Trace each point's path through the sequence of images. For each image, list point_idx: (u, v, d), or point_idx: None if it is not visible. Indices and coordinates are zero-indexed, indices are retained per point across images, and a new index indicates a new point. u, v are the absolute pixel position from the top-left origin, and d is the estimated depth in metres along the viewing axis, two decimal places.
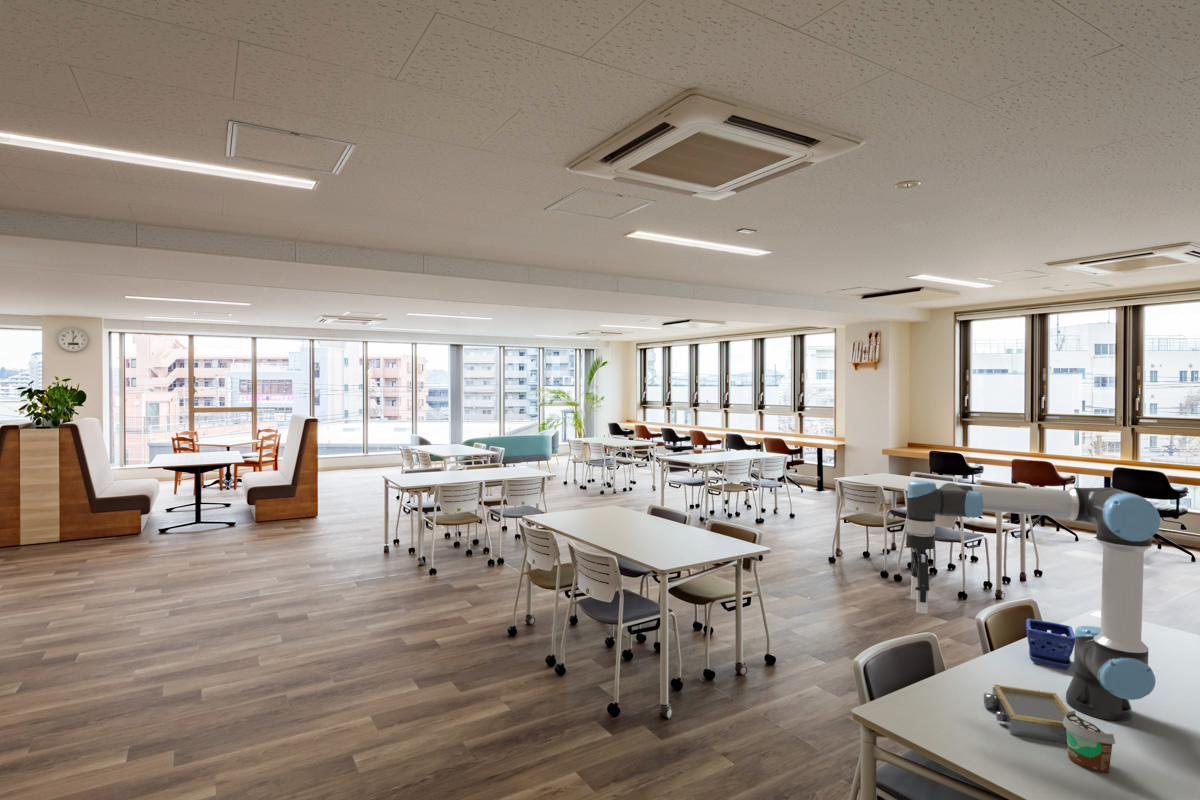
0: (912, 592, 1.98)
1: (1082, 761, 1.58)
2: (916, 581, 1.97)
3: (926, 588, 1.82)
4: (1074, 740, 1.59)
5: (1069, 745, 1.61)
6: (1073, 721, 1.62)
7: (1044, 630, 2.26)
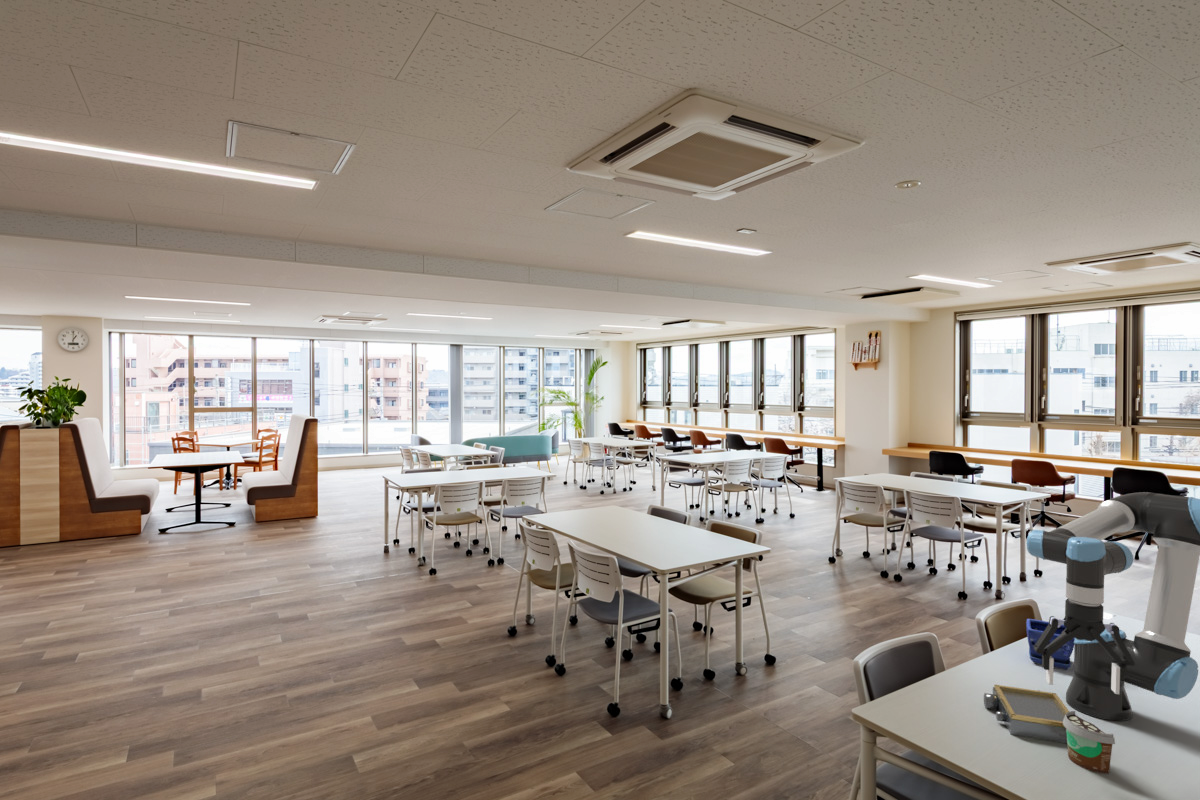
0: (1111, 682, 1.59)
1: (1082, 761, 1.58)
2: (1114, 669, 1.58)
3: (1035, 649, 1.63)
4: (1074, 741, 1.59)
5: (1069, 745, 1.61)
6: (1073, 721, 1.62)
7: None
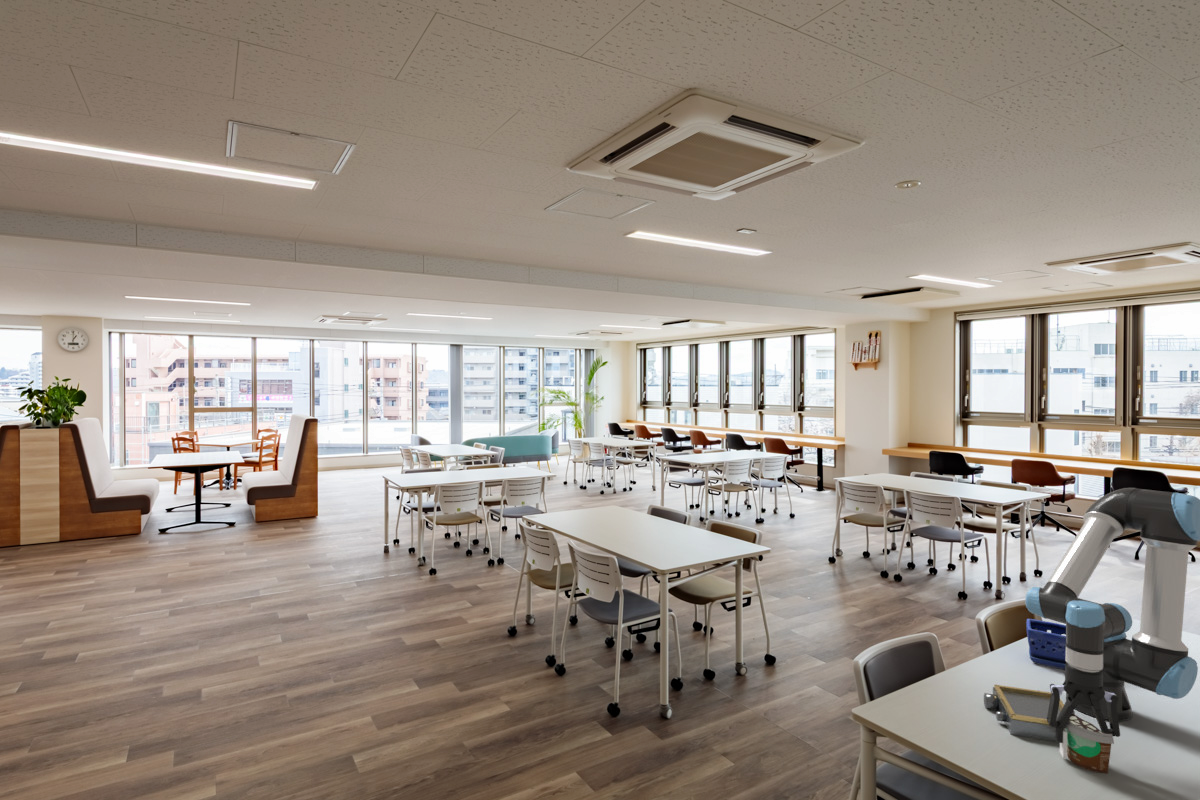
0: None
1: (1081, 761, 1.58)
2: None
3: (1049, 722, 1.62)
4: (1073, 740, 1.59)
5: (1068, 745, 1.61)
6: (1072, 721, 1.62)
7: (1044, 630, 2.26)
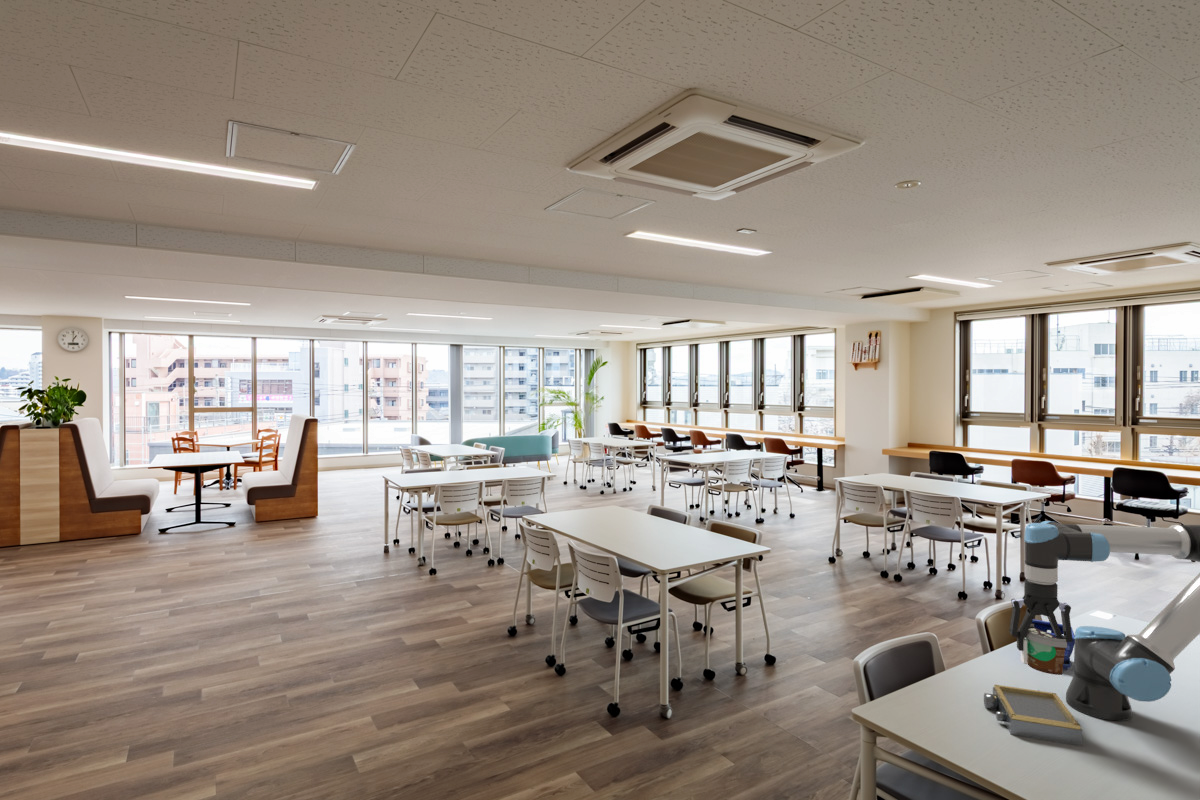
0: None
1: (1039, 665, 1.76)
2: None
3: (1011, 632, 1.80)
4: (1032, 647, 1.77)
5: (1028, 652, 1.79)
6: (1031, 631, 1.80)
7: (1044, 630, 2.26)
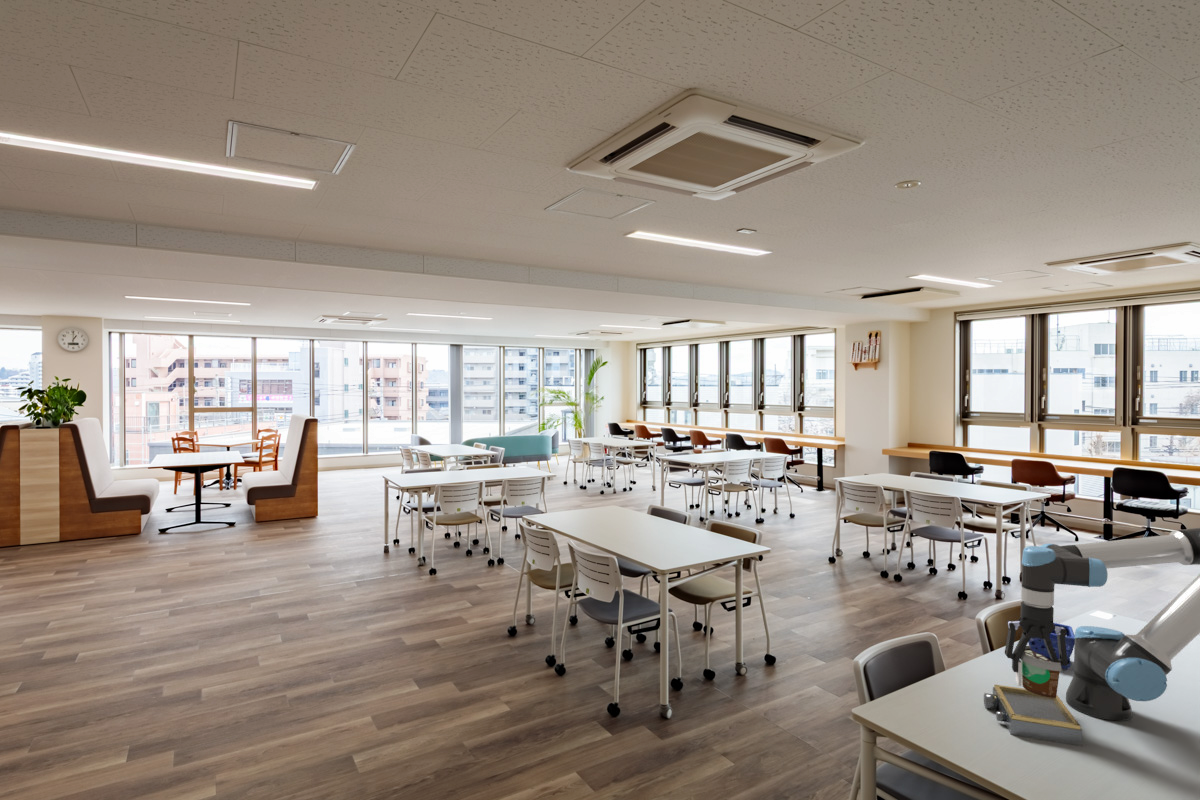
0: None
1: (1033, 687, 1.77)
2: None
3: (1006, 654, 1.81)
4: (1027, 669, 1.79)
5: (1023, 674, 1.81)
6: (1027, 653, 1.82)
7: None
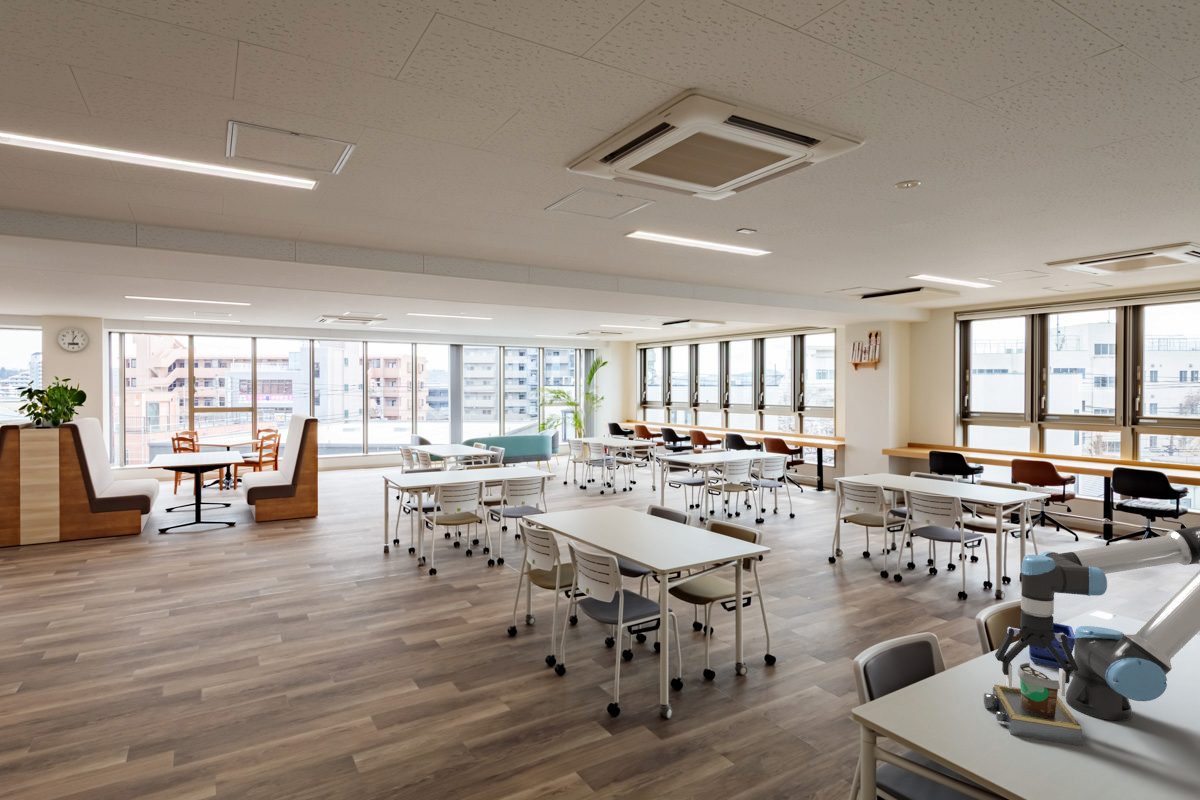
0: None
1: (1031, 705, 1.78)
2: (1060, 674, 1.78)
3: (996, 657, 1.82)
4: (1025, 687, 1.79)
5: (1021, 692, 1.81)
6: (1026, 671, 1.82)
7: None
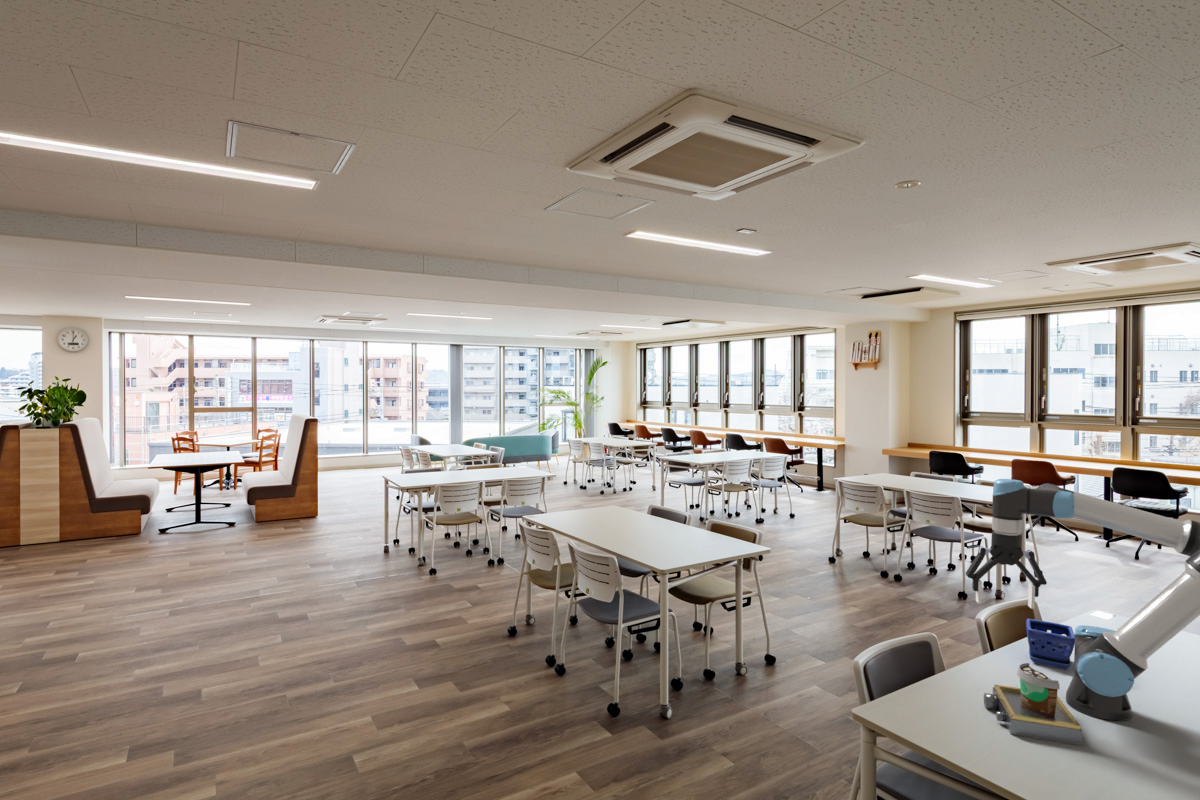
0: (1028, 599, 1.89)
1: (1031, 705, 1.78)
2: (1030, 589, 1.88)
3: (967, 574, 1.92)
4: (1025, 687, 1.79)
5: (1021, 692, 1.81)
6: (1025, 671, 1.82)
7: (1044, 630, 2.26)
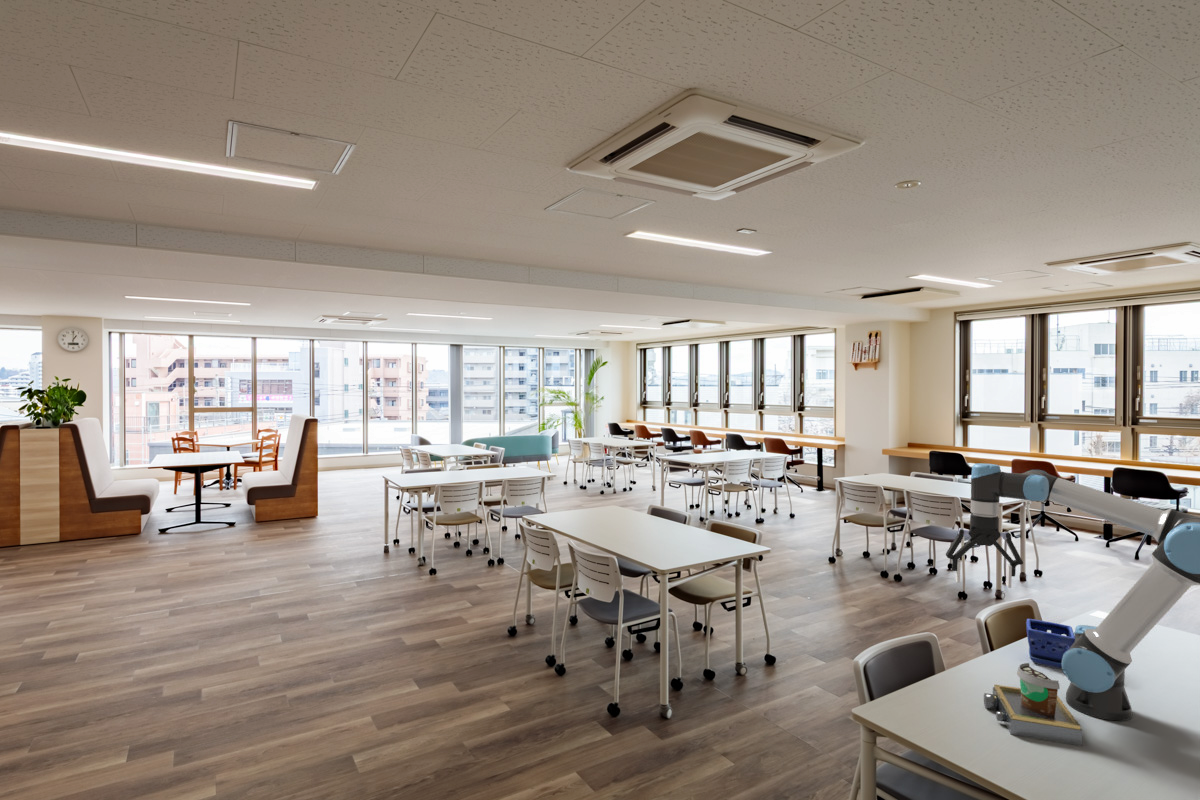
0: (1006, 579, 1.96)
1: (1031, 705, 1.78)
2: (1007, 568, 1.95)
3: (946, 555, 2.00)
4: (1025, 687, 1.79)
5: (1021, 692, 1.81)
6: (1025, 671, 1.82)
7: (1044, 630, 2.26)
